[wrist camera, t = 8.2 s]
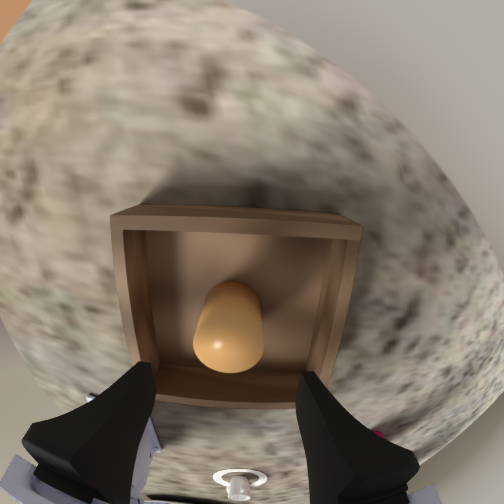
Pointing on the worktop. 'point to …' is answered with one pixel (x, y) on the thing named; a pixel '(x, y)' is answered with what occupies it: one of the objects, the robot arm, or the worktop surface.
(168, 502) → the ceramic plate
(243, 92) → the worktop surface
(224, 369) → the tan rounded piece
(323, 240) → the box
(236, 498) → the teacup and saucer
